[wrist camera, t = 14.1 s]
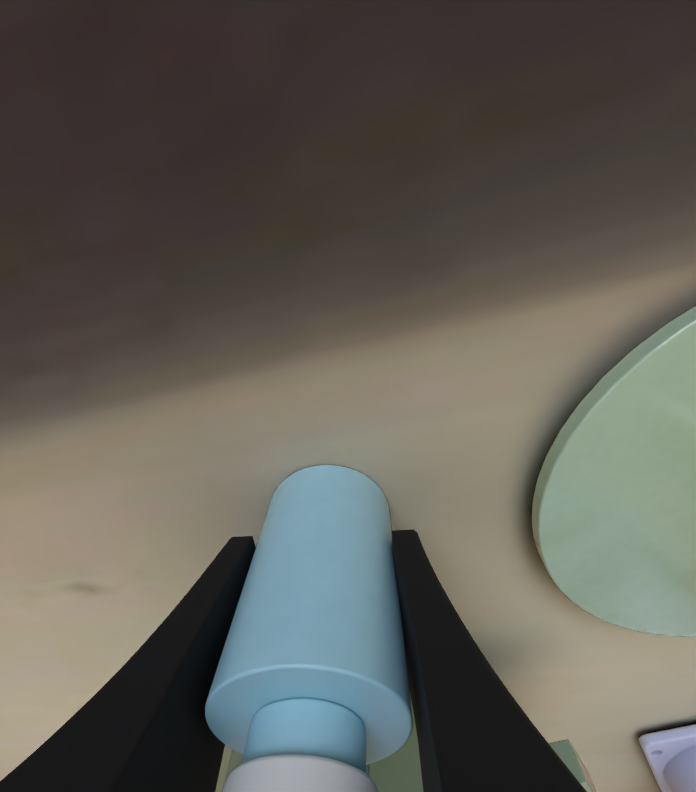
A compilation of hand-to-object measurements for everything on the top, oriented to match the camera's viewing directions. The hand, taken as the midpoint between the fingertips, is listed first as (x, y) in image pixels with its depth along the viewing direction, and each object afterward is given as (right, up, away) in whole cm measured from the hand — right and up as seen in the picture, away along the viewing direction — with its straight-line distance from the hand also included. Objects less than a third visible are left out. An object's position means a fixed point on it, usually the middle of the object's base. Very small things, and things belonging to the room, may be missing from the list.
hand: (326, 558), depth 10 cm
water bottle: (0, +1, +2) cm, 2 cm away
